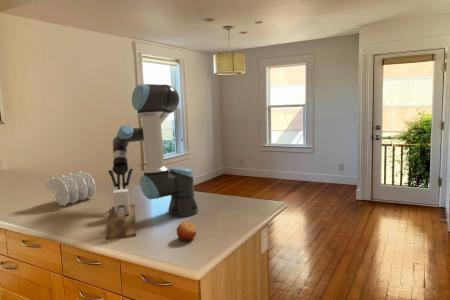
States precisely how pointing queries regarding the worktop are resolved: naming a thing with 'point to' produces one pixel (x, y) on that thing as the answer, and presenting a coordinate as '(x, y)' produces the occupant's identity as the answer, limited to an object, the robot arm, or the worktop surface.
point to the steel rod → (121, 211)
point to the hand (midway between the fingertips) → (121, 196)
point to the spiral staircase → (72, 187)
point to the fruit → (186, 231)
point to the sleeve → (121, 200)
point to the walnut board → (121, 224)
